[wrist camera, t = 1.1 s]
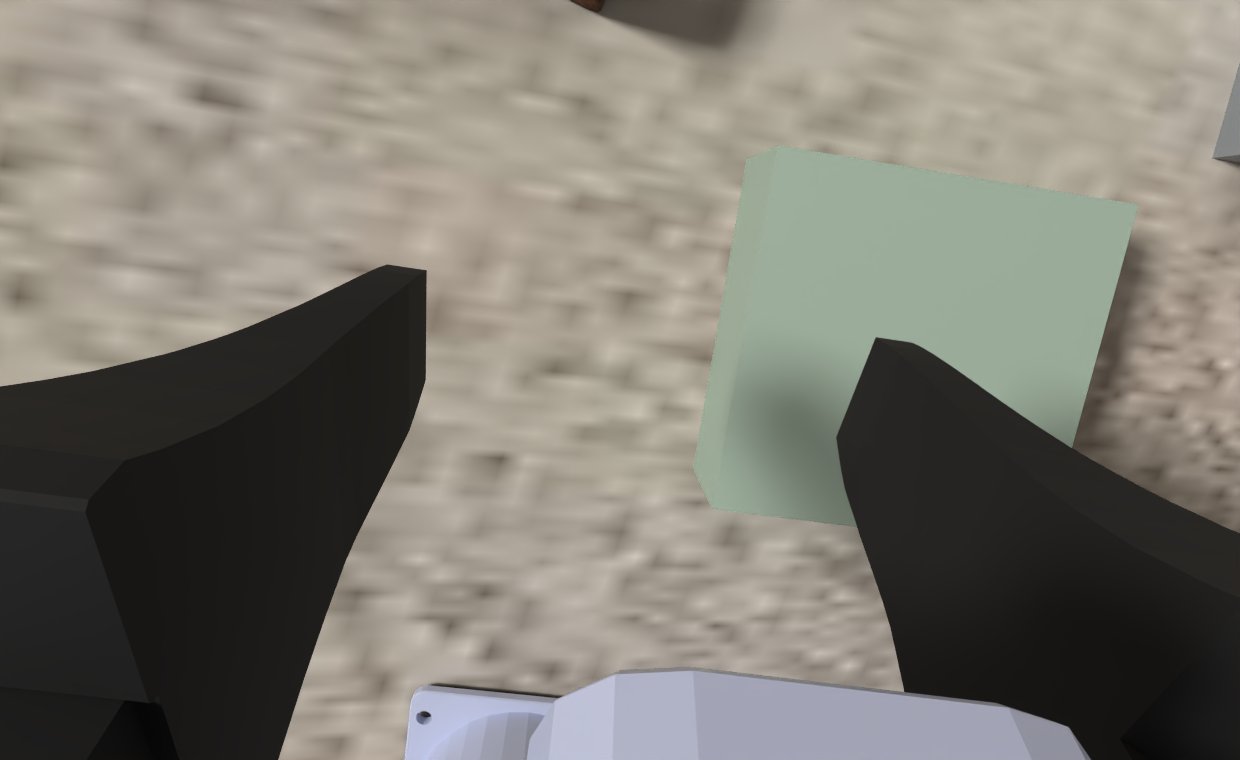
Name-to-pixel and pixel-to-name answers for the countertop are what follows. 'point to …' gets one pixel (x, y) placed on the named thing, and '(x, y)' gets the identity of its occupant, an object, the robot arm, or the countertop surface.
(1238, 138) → the slate numbered block
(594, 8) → the brick
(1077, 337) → the sage block
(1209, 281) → the countertop surface
